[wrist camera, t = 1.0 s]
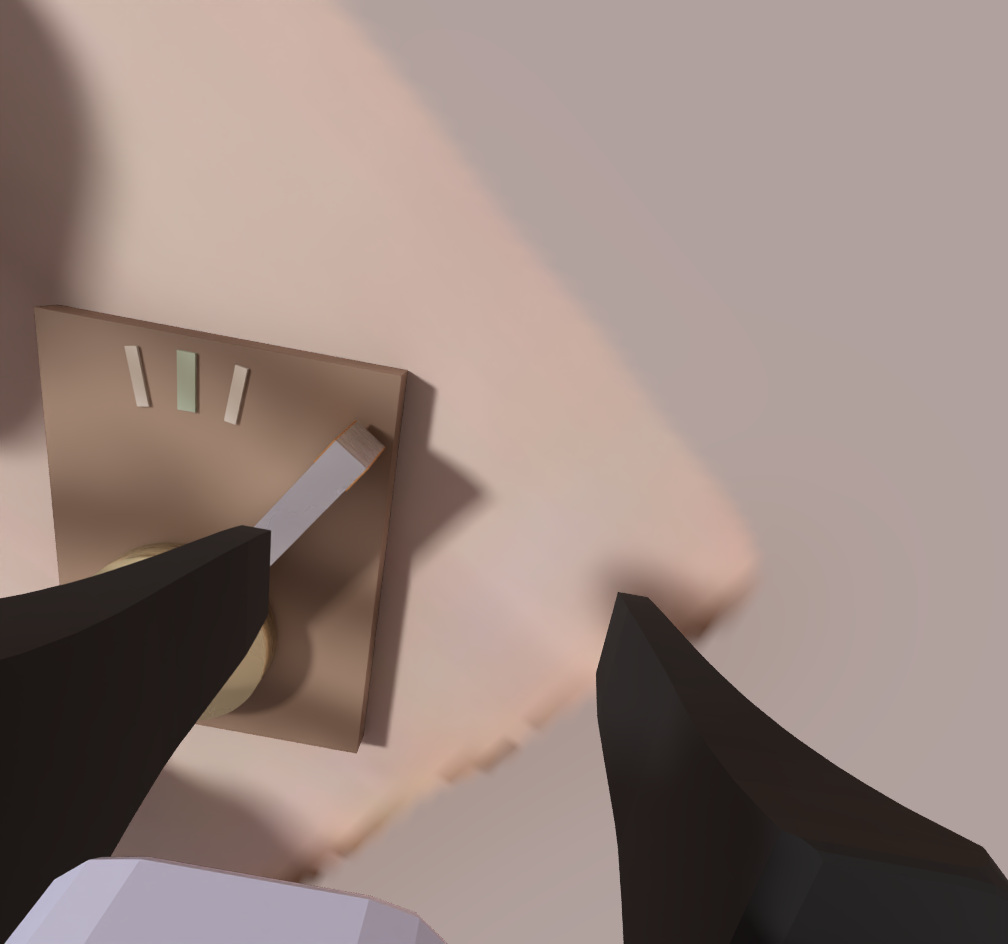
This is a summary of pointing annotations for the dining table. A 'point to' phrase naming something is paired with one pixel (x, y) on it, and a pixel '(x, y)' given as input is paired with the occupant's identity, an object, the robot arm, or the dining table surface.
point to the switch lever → (283, 544)
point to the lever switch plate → (227, 487)
